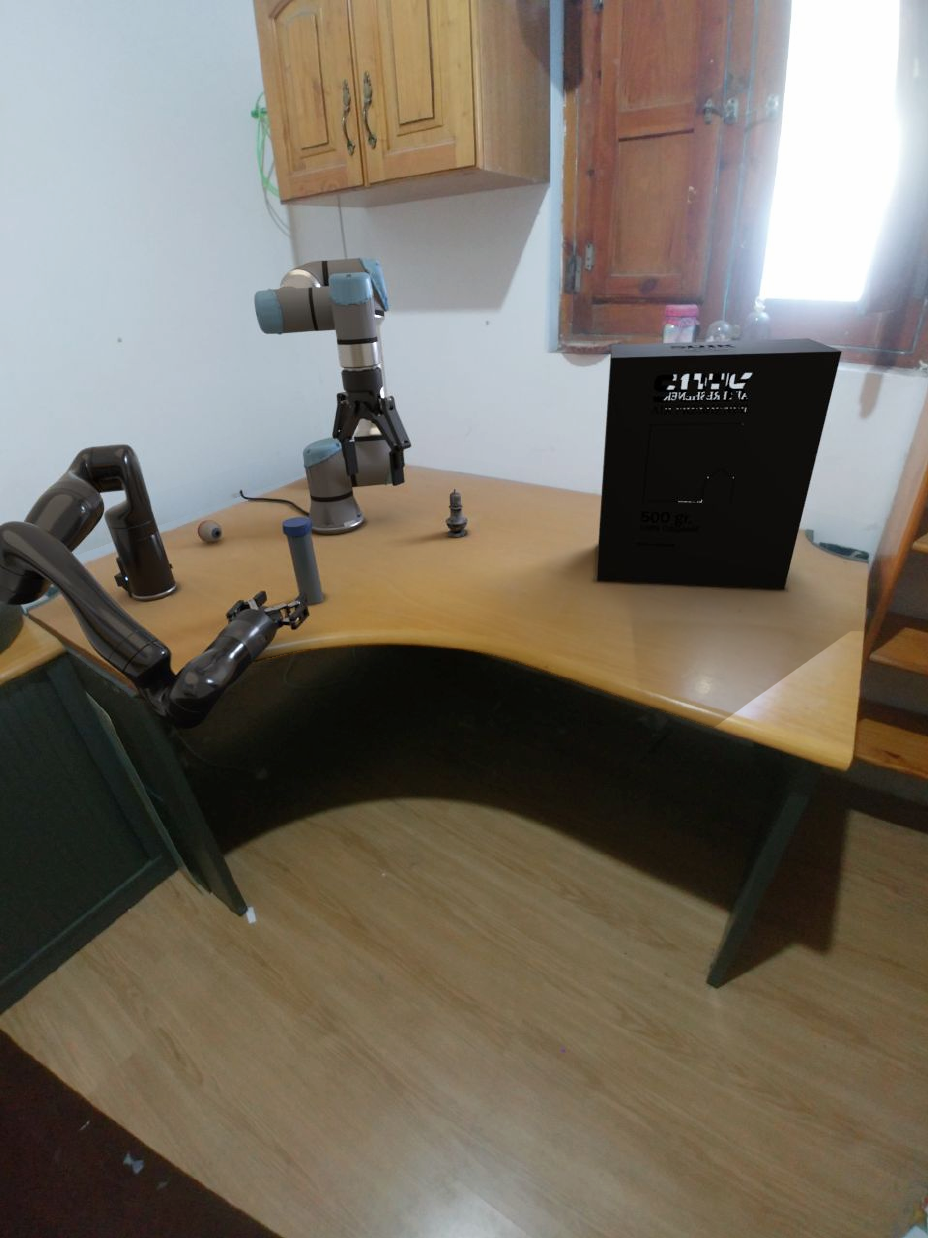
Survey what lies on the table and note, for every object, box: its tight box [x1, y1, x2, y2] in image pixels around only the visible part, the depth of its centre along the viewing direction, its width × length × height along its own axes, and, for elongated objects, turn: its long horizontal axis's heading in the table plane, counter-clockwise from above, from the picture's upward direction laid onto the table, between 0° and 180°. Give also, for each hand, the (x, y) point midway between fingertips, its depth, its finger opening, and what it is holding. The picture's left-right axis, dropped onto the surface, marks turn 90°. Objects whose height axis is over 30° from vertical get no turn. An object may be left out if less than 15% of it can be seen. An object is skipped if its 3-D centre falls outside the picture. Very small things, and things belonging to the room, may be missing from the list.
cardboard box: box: [596, 337, 842, 591], centre depth 125 cm, size 38×20×45 cm, turn 78°
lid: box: [281, 516, 313, 537], centre depth 123 cm, size 6×6×2 cm
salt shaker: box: [444, 488, 469, 538], centre depth 156 cm, size 6×6×12 cm
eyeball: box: [197, 519, 223, 544], centre depth 161 cm, size 6×6×6 cm
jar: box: [286, 531, 324, 606], centre depth 127 cm, size 5×5×17 cm
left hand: (284, 595), depth 119 cm, fingers open, 8 cm apart
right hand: (375, 478), depth 123 cm, fingers open, 13 cm apart
